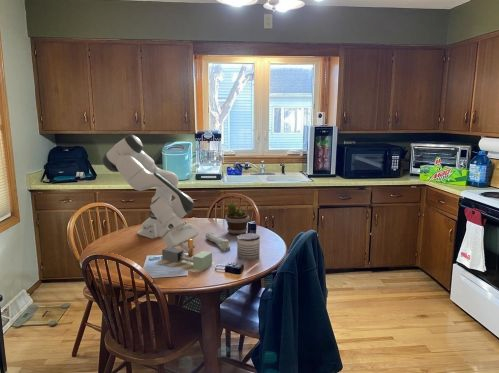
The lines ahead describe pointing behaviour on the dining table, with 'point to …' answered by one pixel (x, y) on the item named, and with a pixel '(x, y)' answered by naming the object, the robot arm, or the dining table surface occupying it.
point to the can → (248, 246)
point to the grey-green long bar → (219, 241)
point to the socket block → (202, 260)
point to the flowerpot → (236, 220)
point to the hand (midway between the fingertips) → (191, 249)
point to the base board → (181, 265)
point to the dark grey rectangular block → (171, 254)
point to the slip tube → (190, 253)
